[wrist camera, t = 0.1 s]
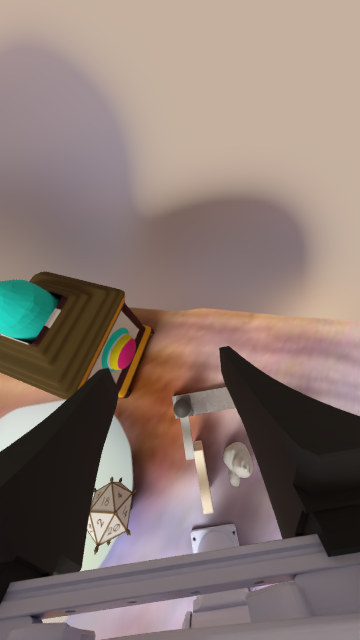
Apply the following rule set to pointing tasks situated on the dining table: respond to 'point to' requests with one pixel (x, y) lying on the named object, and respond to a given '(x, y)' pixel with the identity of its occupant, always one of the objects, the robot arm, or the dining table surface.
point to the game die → (109, 512)
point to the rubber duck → (238, 462)
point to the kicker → (194, 450)
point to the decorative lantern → (68, 333)
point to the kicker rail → (209, 401)
